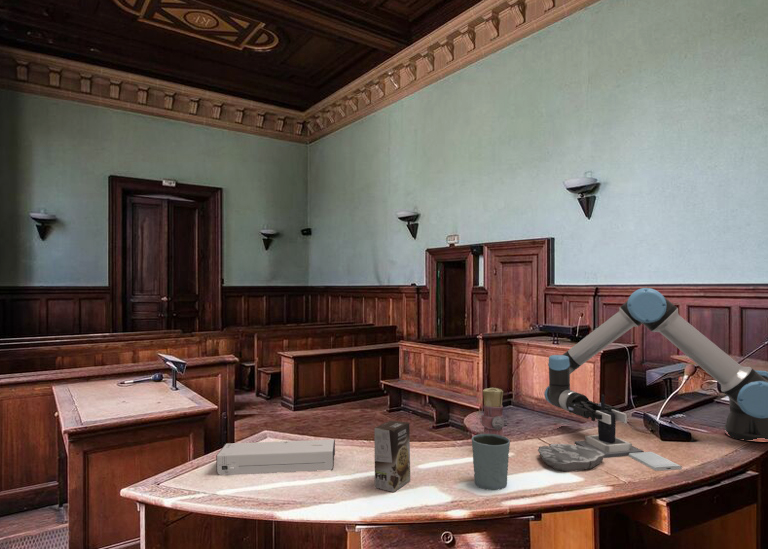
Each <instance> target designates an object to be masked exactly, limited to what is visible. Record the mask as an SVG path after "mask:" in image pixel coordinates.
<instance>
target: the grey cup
mask: <svg viewBox="0 0 768 549" xmlns="http://www.w3.org/2000/svg"><path fill="white" fill-rule="evenodd" d="M510 445H511V441H510V439H509V438H508V437H506V436H500V435H495V434H483V433H481V434H475V435H473V436H472V437H471V448H472V462H473V473H474V474H473V476H474V477H473V478H474V484H475V486H477V487H478V488H480V489H483V490H487V489H488V490H489V491H497V490H498V489H499V490H503V489H505V488H506V487H507V484H508V474H509V473H508V471H509V469H508V468H509V458H510V456H509V454H510ZM502 488H503V489H502Z"/></svg>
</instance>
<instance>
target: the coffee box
mask: <svg viewBox="0 0 768 549" xmlns="http://www.w3.org/2000/svg"><path fill="white" fill-rule="evenodd" d="M410 429H411V428H410V422H406V421H399V420H389V421H387V422H384V423H382V424H379V425H377V426H375V427H374V441H373V442H374V488H375V487H376V489H379V488H380V490H384V491H387V492H391V493H395V492H396V491H397V490H399V489H400V488H403V486H405V485H407V484H408V483H410V482H411V447H410V446H411V442H410V440H411V438H410V437H411V436H410V431H411V430H410Z"/></svg>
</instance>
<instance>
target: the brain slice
mask: <svg viewBox="0 0 768 549" xmlns="http://www.w3.org/2000/svg"><path fill="white" fill-rule="evenodd" d="M537 452H538V453H539V456H540V457H541V459H542V461H543V462H544V463H545V464H546V465H547V466H548V465H549V466H548V467H551V466H552V467H551V468H554V470H556V471H560V472H573V471H572V470H577V471H583V470H584V469H585V470H587V469H588V470H589V469H590V470H592V469H593V468H594V467H597V466H599V465H600V464H601V463H602V462H603V460H604V459H605V458H604V455H605V454H604V453H602V452H600V451H598V450H595V449H593V448H589V447H586V446H584V447H583V446H578V445H575V444H567V443H550V444H549V445H543V446H538V449H537ZM585 470H584V471H585Z"/></svg>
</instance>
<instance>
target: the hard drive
mask: <svg viewBox="0 0 768 549" xmlns="http://www.w3.org/2000/svg"><path fill="white" fill-rule="evenodd" d="M628 457H629V458H631V459H633V460H635V461H636V462H638V463H640V464H642V465H644V466H646V467H647V468H650V469H651V470H652V471H655V472H659V471H660V472H661V471H672V470H673V471H675V470H683V469H682V468H683V467H682V466H681V464H678V463H676V462H673V461H671V460H670V459H668V458H666V457H663V456H661V455H659V454H657V453H655V452H653V451H644V452H638V453H629V456H628Z"/></svg>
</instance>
